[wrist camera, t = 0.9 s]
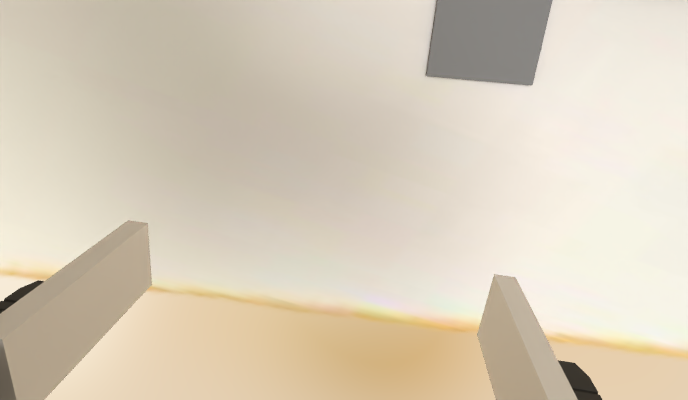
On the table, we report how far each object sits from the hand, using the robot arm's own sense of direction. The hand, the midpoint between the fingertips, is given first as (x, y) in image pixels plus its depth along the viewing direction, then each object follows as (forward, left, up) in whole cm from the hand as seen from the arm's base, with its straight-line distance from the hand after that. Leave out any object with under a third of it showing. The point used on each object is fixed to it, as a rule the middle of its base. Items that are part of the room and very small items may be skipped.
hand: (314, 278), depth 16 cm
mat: (-10, +10, -26) cm, 29 cm away
